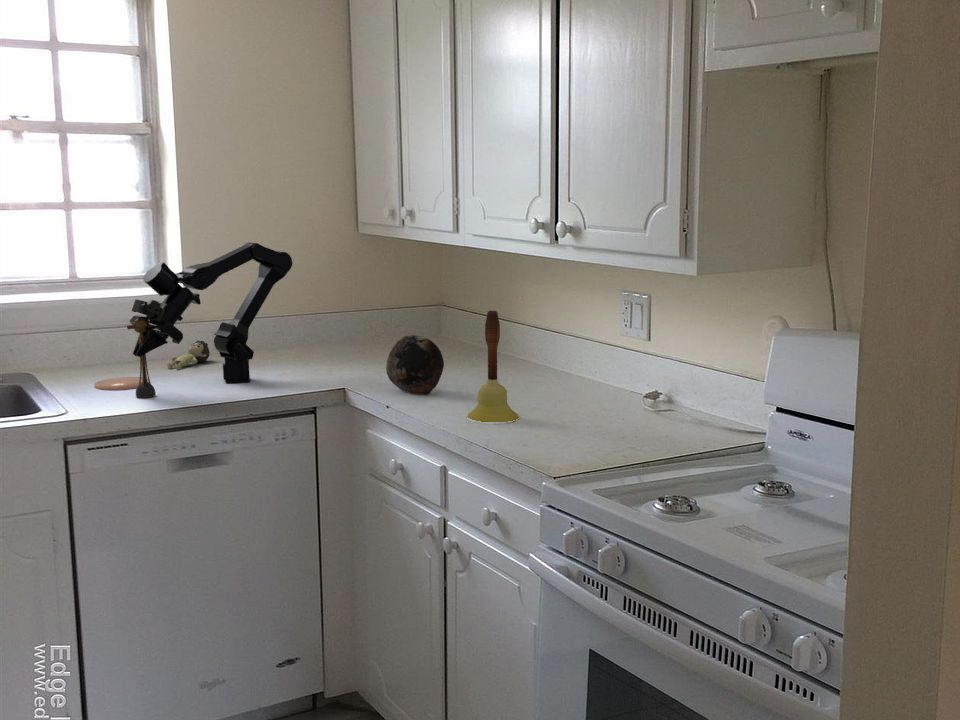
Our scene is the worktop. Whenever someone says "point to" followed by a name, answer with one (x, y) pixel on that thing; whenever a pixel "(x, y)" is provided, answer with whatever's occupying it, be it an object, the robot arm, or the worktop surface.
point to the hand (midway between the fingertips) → (135, 355)
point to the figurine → (191, 355)
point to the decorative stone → (415, 364)
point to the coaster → (118, 383)
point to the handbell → (492, 381)
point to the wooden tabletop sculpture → (142, 361)
